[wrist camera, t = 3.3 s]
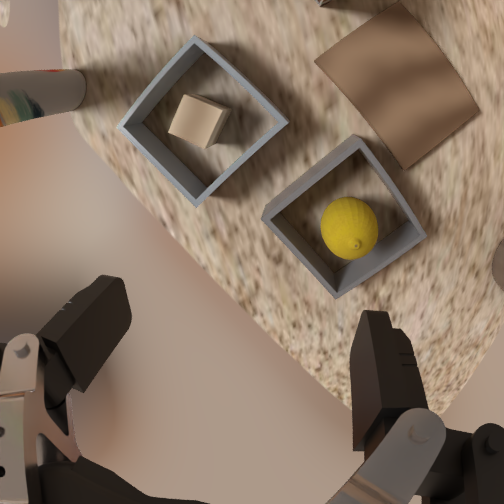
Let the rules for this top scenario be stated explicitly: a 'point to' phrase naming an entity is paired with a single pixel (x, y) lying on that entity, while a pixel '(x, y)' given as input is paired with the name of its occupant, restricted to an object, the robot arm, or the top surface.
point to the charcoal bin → (359, 267)
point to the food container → (322, 2)
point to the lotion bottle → (39, 94)
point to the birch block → (199, 120)
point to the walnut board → (399, 83)
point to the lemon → (349, 228)
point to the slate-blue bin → (157, 150)
